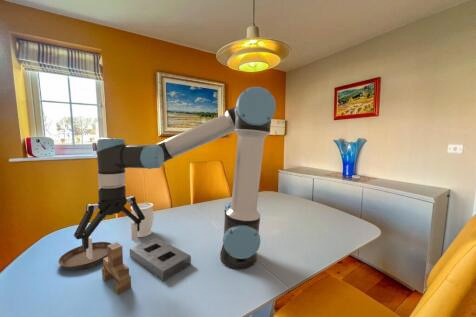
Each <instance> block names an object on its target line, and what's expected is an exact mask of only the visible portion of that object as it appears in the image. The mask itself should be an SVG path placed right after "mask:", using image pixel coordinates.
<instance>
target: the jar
mask: <svg viewBox="0 0 476 317" xmlns="http://www.w3.org/2000/svg"><path fill="white" fill-rule="evenodd" d="M137 205H138V207H139V208H140V210H141V212H142V213H143V215H144V217H145V219H144V220H141V223H140V230H139V231H137V238H144V237H147V236H149V235H151V234H152V232H153V231H152V228H153V223H154V214H155V213H154V210H153V207H154V204H153V203H151V202H142V203H137ZM130 210H131V213H132V214H133V215H134V216H136V217H138V216H137V214H136V213H135V211H134V210H133V208H132V206H131V205H130ZM130 220H131V223H132V222H134V221H133V220H132V219H131V218H130Z"/></svg>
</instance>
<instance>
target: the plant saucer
mask: <svg viewBox="0 0 476 317" xmlns="http://www.w3.org/2000/svg"><path fill="white" fill-rule="evenodd" d="M111 244H112V243H111V242H107V241H96V242H92V255H93V259H90V260H89V258H88V257H87V255H86V249H84V248H83V247H82V245H80V246H76V247H75V248H72V249H70V250H68V251H66V252H65V253H64V254H62V255H61V256H60V257H59V258H58V264H59V265H60V266H61V267H62V268H64V269H67V270H70V271H71V270H72V271H77V270H83V269H88V268H90V267H93V266H96V265H98V264H100V263H102V262H103V258H105V257H108V250H107V246H108V245H111Z"/></svg>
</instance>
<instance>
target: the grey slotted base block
mask: <svg viewBox="0 0 476 317" xmlns="http://www.w3.org/2000/svg"><path fill="white" fill-rule="evenodd" d="M129 257H130V258H131V259H132V260H133V261H135V262H137V263H138V264H139V265H140V266H142V267H143V268H144V269H146V270H147V271H148V272H149V273H151V274H153V275H154V276H155V277H156V278H158V279H160V280H161V281H162V282H165V281H166V280H168V279H170V278H171V277H173V276H175V275H177V274H178V273H180V272H181V271H182V270H184V269H186V268H187V267H189V266H191V264H192V255H191V254H188V253H187V252H185V251H183V250H182V249H179V248H177V247H175V246H173V245H172V244H169V243H167V242H166V241H164V240H162V239H160V238H158V237H155V238H152V239H150V240H147V241H145V242H141V243H140V244H137V245H134V246H132V247H130V248H129Z"/></svg>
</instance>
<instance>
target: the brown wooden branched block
mask: <svg viewBox="0 0 476 317" xmlns="http://www.w3.org/2000/svg"><path fill="white" fill-rule="evenodd" d="M107 250H108V257H105V258H103V261H102V263H103V264H102V265H103V266H102V267H101V274H102V276H101V278H102V280H104V282H106V281H108V280H111V279H113V278H114V279H113V280H114V281H113V283H114V292H115V293H116V294H117V295H121V294H122V293H124V292H125V291H127V290H129V289H130V288H132V276H131V275H130V267H129V266H127V264H126V263H124V258H123V257H124V254H123V253H124V252H123V251H124V250H123V245H122V244H121V243H119V242H118V241H117V242H114V243H111V245H108V246H107Z"/></svg>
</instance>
